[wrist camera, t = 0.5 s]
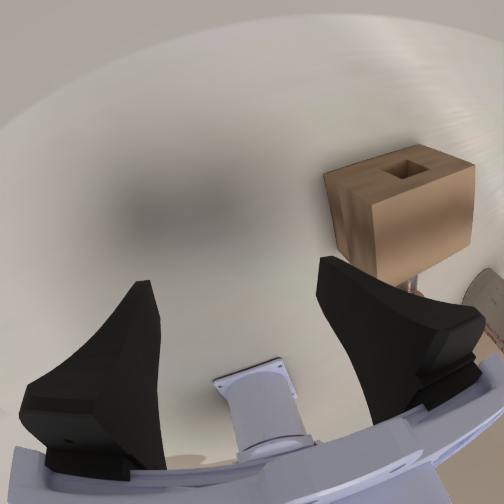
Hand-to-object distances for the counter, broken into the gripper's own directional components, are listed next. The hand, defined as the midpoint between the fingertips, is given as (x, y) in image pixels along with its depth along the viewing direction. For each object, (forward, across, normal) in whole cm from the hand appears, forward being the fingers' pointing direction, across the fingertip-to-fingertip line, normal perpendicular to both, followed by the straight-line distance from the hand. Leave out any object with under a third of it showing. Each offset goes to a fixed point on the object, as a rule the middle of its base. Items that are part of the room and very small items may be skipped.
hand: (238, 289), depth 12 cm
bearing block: (+10, -14, 0) cm, 17 cm away
